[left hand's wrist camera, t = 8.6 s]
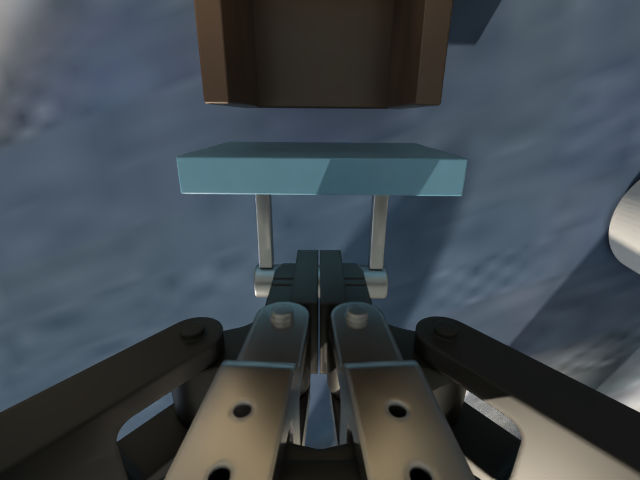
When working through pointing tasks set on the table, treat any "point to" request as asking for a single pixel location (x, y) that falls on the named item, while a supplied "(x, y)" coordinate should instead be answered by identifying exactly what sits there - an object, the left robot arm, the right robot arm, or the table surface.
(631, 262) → the coffee cup
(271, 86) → the drawer
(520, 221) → the table surface
